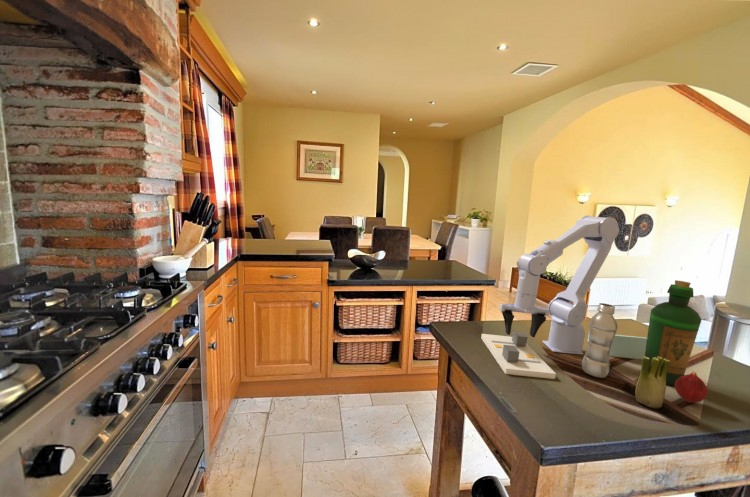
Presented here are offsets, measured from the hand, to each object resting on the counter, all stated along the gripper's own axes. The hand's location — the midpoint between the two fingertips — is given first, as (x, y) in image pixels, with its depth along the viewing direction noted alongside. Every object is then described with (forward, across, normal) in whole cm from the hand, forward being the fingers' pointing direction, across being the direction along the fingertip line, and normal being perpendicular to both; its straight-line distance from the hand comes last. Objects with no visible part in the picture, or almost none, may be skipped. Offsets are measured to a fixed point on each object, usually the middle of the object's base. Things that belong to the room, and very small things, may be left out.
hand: (519, 334), depth 107 cm
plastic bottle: (+5, +16, -13) cm, 21 cm away
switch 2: (+3, 0, 0) cm, 3 cm away
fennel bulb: (+5, +21, -26) cm, 34 cm away
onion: (+5, +33, -23) cm, 41 cm away
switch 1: (+3, -7, -12) cm, 14 cm away
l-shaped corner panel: (+5, +36, +8) cm, 37 cm away
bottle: (+5, +36, -11) cm, 38 cm away
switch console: (+5, -3, -6) cm, 8 cm away
